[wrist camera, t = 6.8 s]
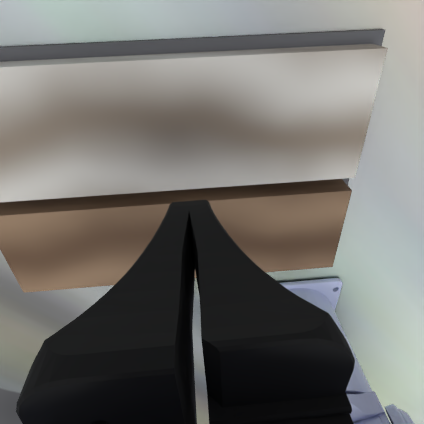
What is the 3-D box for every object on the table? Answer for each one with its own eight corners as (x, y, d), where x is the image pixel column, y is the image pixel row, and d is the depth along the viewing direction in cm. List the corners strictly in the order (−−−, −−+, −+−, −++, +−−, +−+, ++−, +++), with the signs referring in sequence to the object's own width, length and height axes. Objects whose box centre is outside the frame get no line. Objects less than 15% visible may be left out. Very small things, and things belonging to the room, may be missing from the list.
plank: (344, 166, 21) (355, 177, 19) (-12, 190, 20) (-25, 204, 18) (372, 43, 17) (387, 48, 15) (-74, 65, 16) (-96, 71, 14)
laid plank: (324, 252, 25) (332, 266, 24) (31, 276, 24) (23, 292, 23) (341, 178, 21) (351, 190, 20) (-6, 202, 20) (-18, 216, 19)
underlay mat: (329, 249, 25) (331, 252, 25) (26, 274, 24) (24, 277, 24) (382, 29, 17) (385, 29, 16) (-88, 50, 15) (-93, 51, 15)
